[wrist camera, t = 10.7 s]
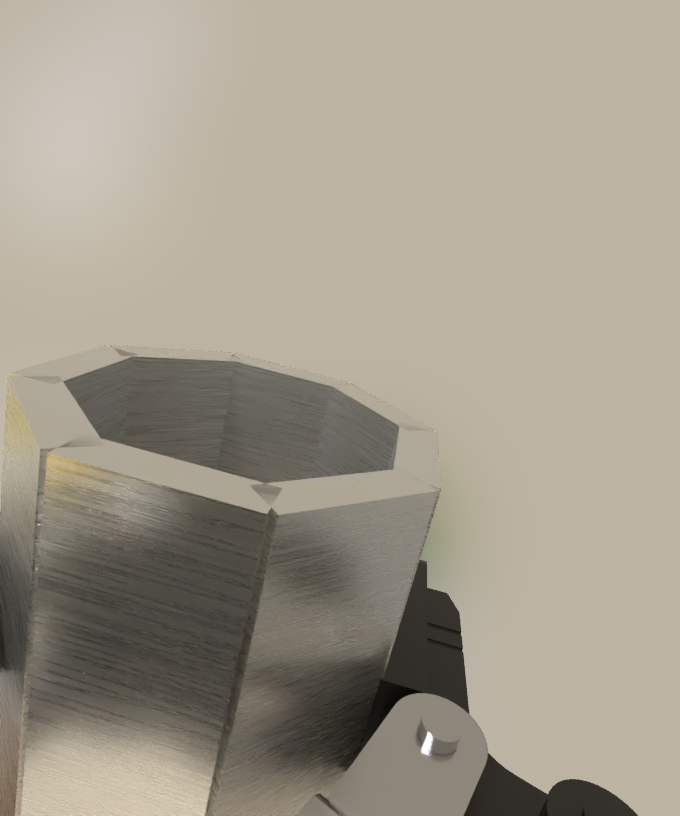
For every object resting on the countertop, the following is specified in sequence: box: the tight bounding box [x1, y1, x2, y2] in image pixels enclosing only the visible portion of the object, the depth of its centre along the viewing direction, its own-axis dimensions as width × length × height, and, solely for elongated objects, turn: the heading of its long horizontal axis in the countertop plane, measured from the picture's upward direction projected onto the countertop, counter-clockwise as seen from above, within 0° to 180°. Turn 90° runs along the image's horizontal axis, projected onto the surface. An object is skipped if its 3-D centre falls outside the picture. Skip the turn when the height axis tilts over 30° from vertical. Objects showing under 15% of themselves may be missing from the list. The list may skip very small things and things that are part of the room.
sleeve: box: [0, 345, 441, 816], centre depth 9 cm, size 6×6×10 cm
